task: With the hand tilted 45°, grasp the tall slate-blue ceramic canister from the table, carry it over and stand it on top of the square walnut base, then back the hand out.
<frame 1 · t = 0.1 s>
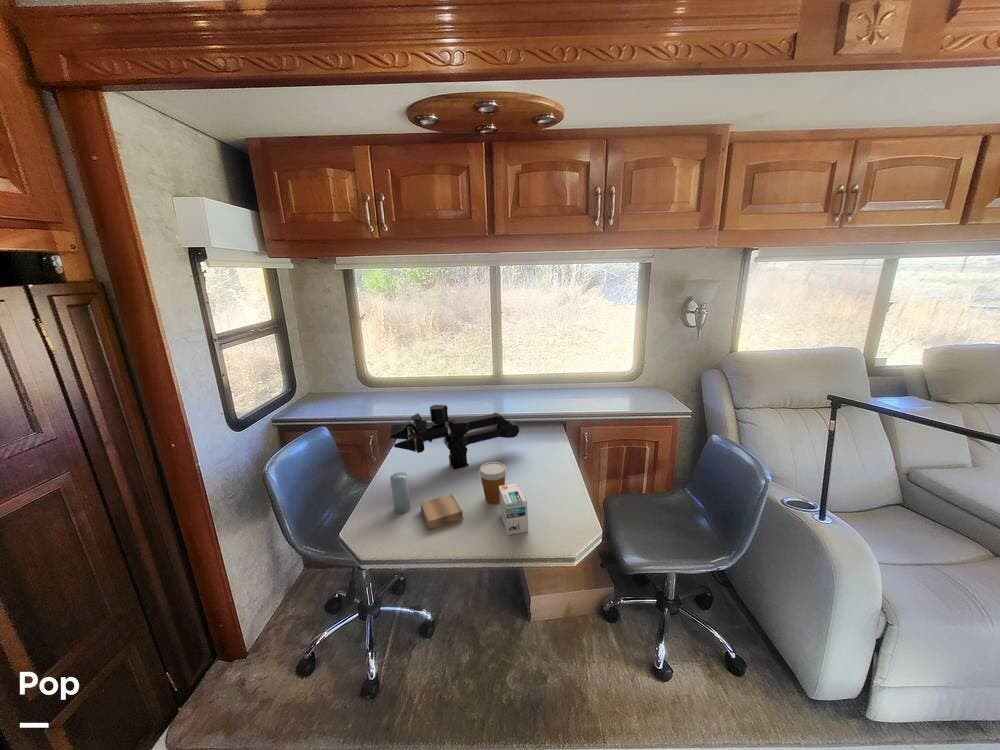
hand: (392, 441, 141), 17 cm above the table, tool horizontal, fingers open, 9 cm apart
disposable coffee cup: (494, 499, 130), on the table
walnut base: (441, 514, 122), on the table
light bulb box: (513, 523, 117), on the table
slate canister: (402, 509, 126), on the table
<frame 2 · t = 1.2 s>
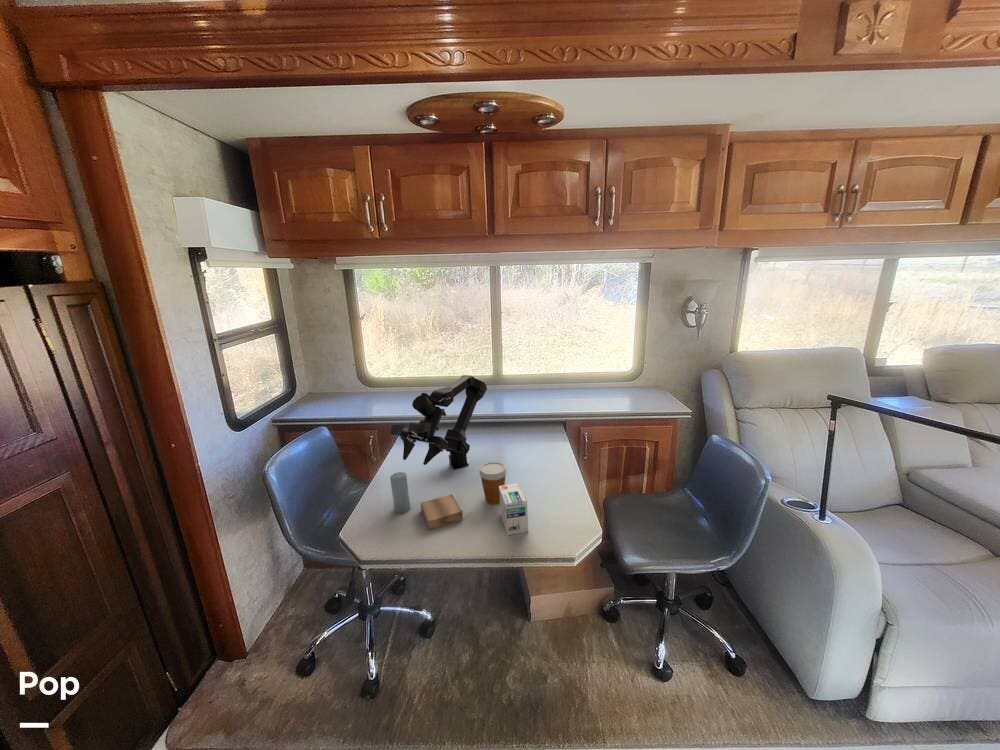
hand: (413, 462, 130), 14 cm above the table, tool tilted 45°, fingers open, 9 cm apart
nothing on the table moved.
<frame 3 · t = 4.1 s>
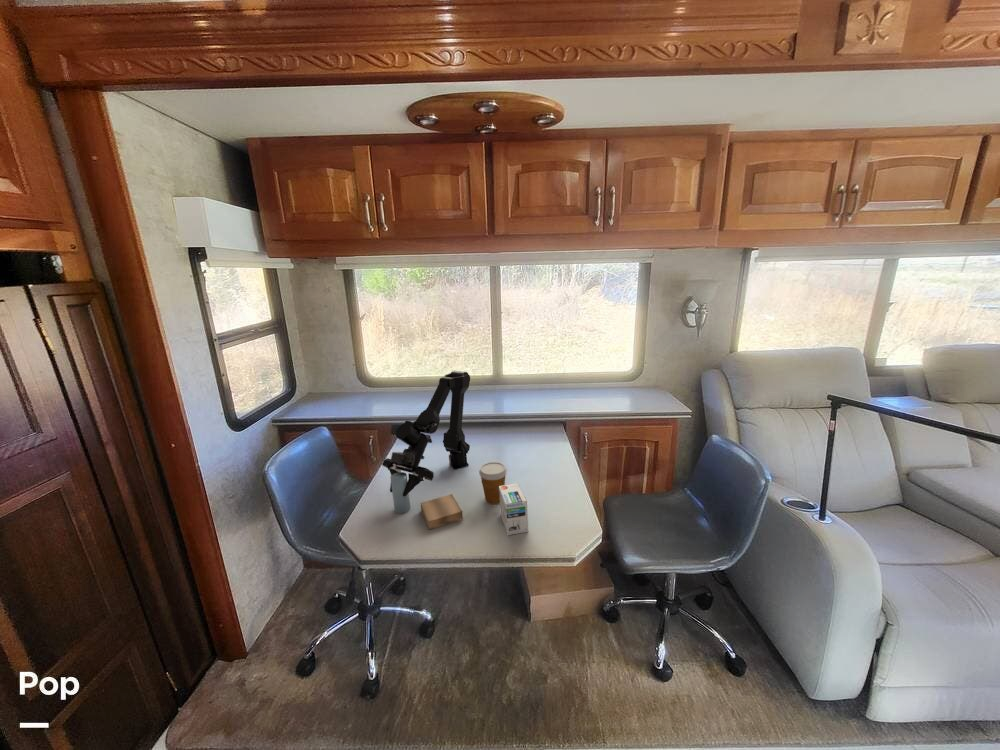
hand: (397, 494, 124), 7 cm above the table, tool tilted 45°, fingers closed on slate canister, 5 cm apart
slate canister: (402, 509, 126), on the table, touching gripper
everything else where it was.
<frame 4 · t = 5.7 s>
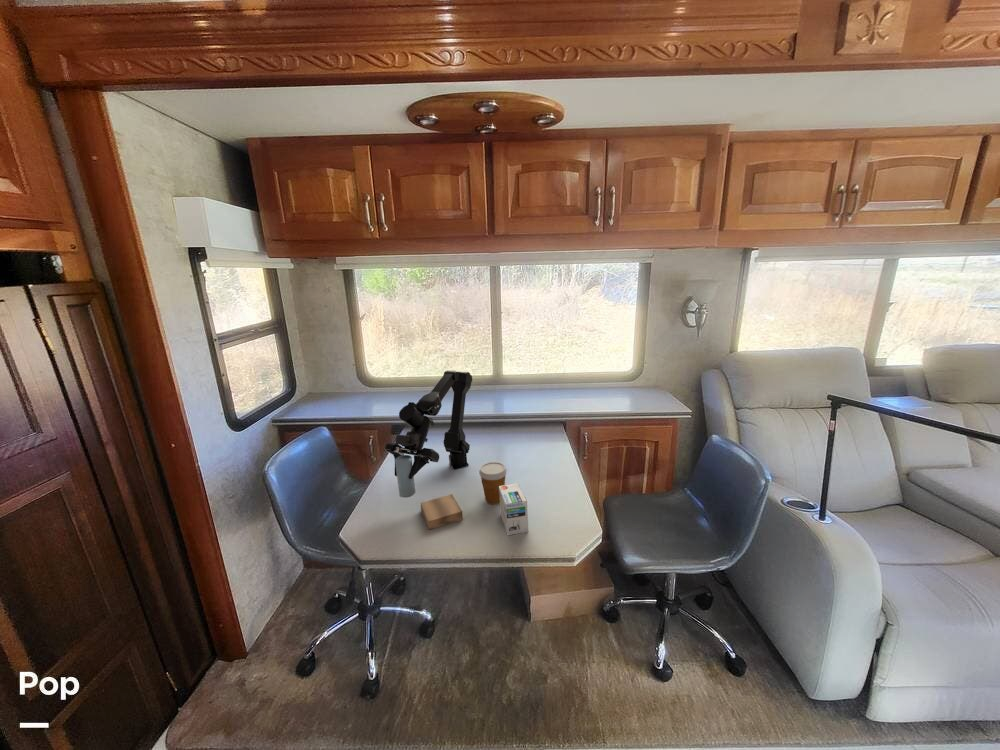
hand: (402, 477, 121), 13 cm above the table, tool tilted 45°, fingers closed on slate canister, 5 cm apart
slate canister: (407, 493, 123), point 7 cm above the table, touching gripper
everything else where it was.
when the fingers open (11 cm above the table, at t = 7.4 s): slate canister drops 1 cm, resting on walnut base.
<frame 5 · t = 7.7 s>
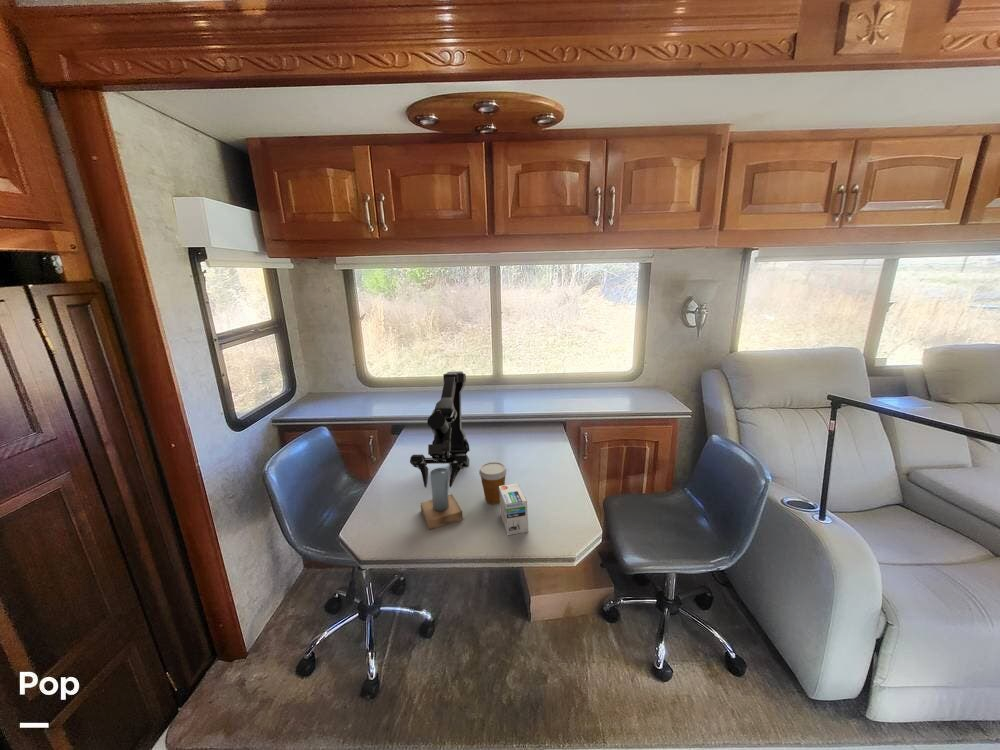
hand: (437, 487, 118), 11 cm above the table, tool tilted 45°, fingers open, 8 cm apart
slate canister: (440, 506, 122), point 3 cm above the table, touching walnut base
everything else where it was.
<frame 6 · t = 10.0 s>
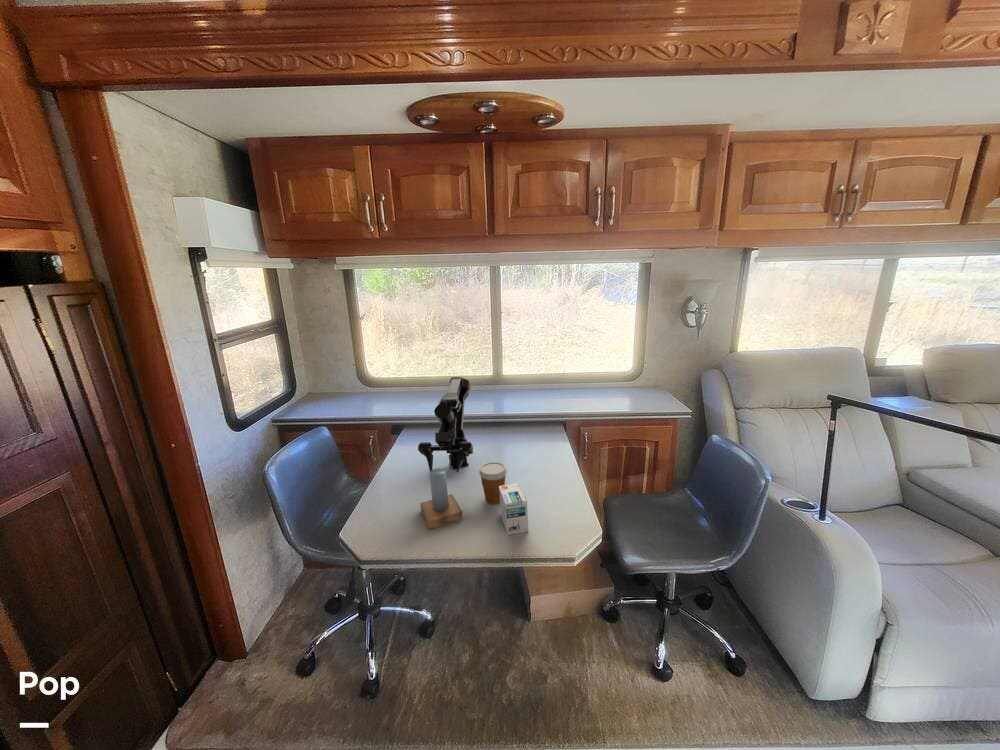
hand: (444, 472, 127), 11 cm above the table, tool tilted 45°, fingers open, 9 cm apart
nothing on the table moved.
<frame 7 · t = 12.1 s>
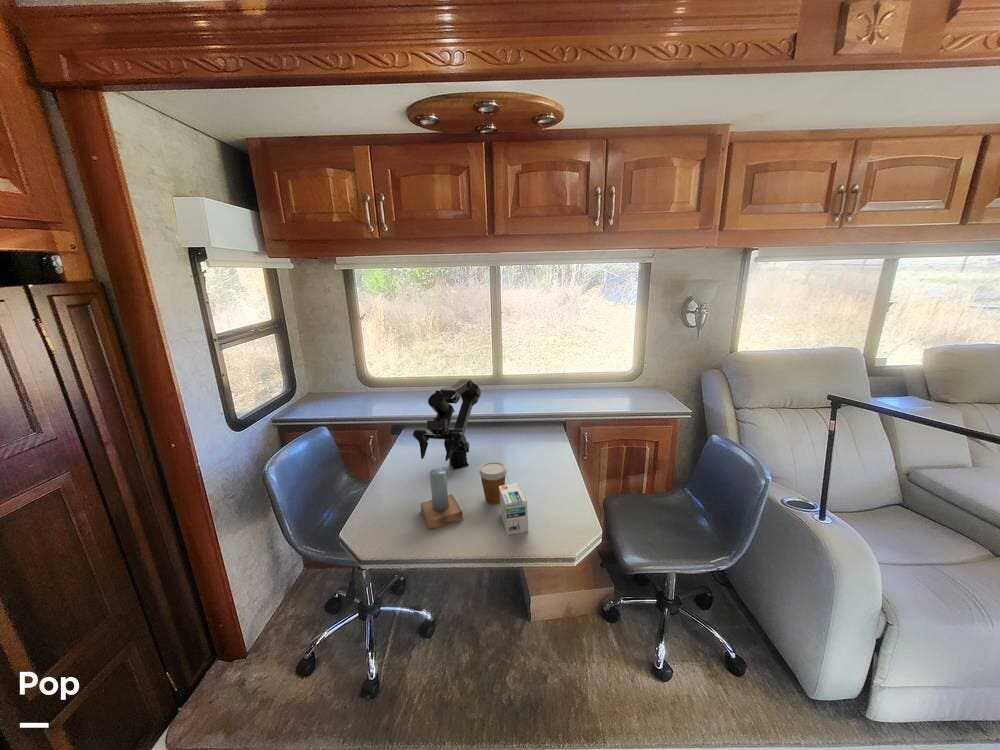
hand: (433, 459, 131), 14 cm above the table, tool tilted 45°, fingers open, 9 cm apart
nothing on the table moved.
at the end: slate canister 0.1 cm off-centre on the walnut base, point 3.0 cm above the walnut base's base; slate canister tilted 0°; the gripper is holding nothing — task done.
